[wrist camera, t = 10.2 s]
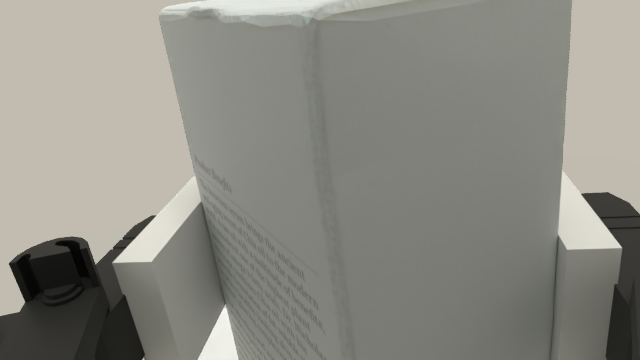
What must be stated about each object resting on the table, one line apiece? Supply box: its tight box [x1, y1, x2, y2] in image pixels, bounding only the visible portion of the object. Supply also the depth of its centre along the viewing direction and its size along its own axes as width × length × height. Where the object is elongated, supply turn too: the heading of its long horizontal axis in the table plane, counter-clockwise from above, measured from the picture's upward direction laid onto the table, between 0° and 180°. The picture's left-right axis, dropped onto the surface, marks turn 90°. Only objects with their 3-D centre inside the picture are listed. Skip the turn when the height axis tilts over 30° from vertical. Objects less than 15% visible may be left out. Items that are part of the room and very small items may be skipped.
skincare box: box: [159, 0, 572, 360], centre depth 10 cm, size 6×4×12 cm
